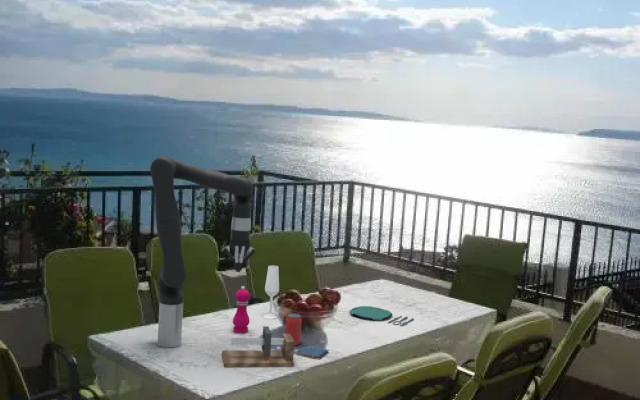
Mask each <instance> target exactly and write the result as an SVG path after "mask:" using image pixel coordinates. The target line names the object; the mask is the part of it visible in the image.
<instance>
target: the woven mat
mask: <svg viewBox="0 0 640 400" xmlns="http://www.w3.org/2000/svg"><path fill="white" fill-rule="evenodd" d="M329 351H330V350H329V349H328V348H327V349H326V348H322V347H316V346H312V345H305V346H304V347H302V348H299V350H297V351H296V353H295V354H296V356H299V357H300V355H301V357H302V356H303V357H304V358H310V359H313V360H318V361H319V360H321V359H322V358H323V357H325V356H326V355H328V354H329V353H330V352H329Z"/></svg>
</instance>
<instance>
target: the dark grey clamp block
mask: <svg viewBox="0 0 640 400" xmlns="http://www.w3.org/2000/svg"><path fill="white" fill-rule="evenodd" d="M262 338H265V343H264V345H261V350H262V351H263V353H264V356H265V357H270V350H272V349H271V347H272V345H271V338H272V332H271V328H270V326H262Z"/></svg>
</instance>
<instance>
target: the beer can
mask: <svg viewBox="0 0 640 400" xmlns="http://www.w3.org/2000/svg"><path fill="white" fill-rule="evenodd" d="M302 321H303V320H302V315H300V314H299V313H295V312H294V313H288V314H287V316H286V318H285V325H284V327H285V329H284V334H291V336H292V338H293V340H294V346H299V345H300V343H301V337H302V336H301V335H302V334H301V333H302Z"/></svg>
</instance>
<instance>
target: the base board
mask: <svg viewBox="0 0 640 400" xmlns="http://www.w3.org/2000/svg"><path fill="white" fill-rule="evenodd" d="M281 338H284V339H285V345H281V349H280V350H279V349H276V350H274V349H273V350H272V349H271V350H270V357H265V356H264V353H263V351H262V349H260V350H258V349H257V350H249V349H248V350H244V349H243V350H241V349H240V350H221V357H222V360H223V361H222V363H223V367H224V368H273V367H274V368H284V367H286V368H287V367H289V368H290V367H294V366H295V362H294V354H295V353H294V351H295V345H294V340H293V338H292V336H291V334H285V333H282V336H281Z"/></svg>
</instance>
